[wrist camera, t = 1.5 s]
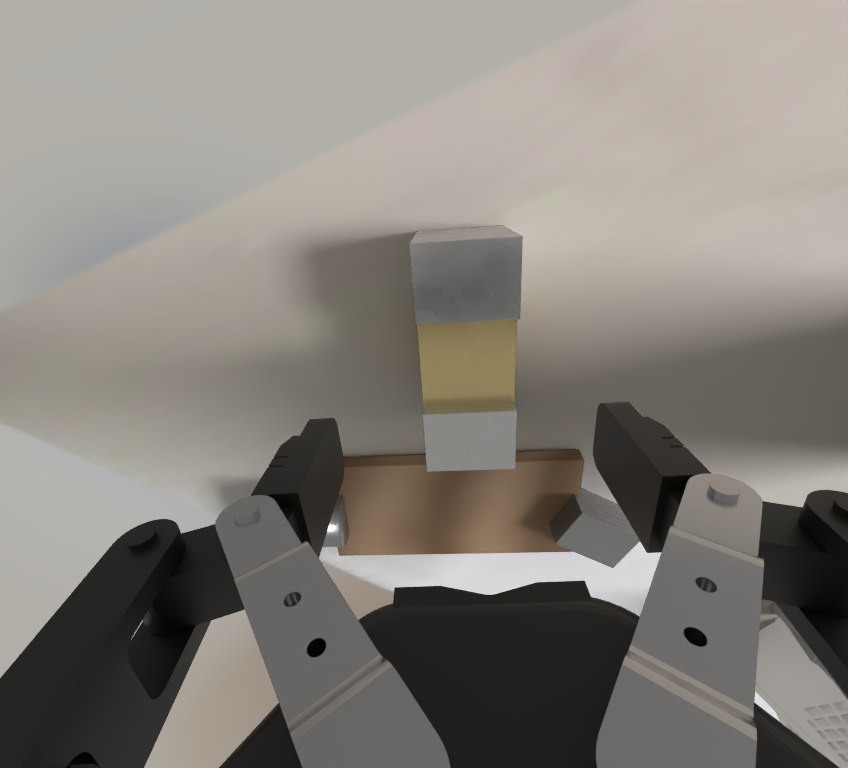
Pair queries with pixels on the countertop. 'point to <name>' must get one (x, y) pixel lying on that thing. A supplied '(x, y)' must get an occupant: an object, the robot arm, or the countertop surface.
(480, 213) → the countertop surface
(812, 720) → the skyscraper
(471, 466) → the gray and yellow block
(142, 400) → the countertop surface
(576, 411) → the countertop surface
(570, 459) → the coupling stand
